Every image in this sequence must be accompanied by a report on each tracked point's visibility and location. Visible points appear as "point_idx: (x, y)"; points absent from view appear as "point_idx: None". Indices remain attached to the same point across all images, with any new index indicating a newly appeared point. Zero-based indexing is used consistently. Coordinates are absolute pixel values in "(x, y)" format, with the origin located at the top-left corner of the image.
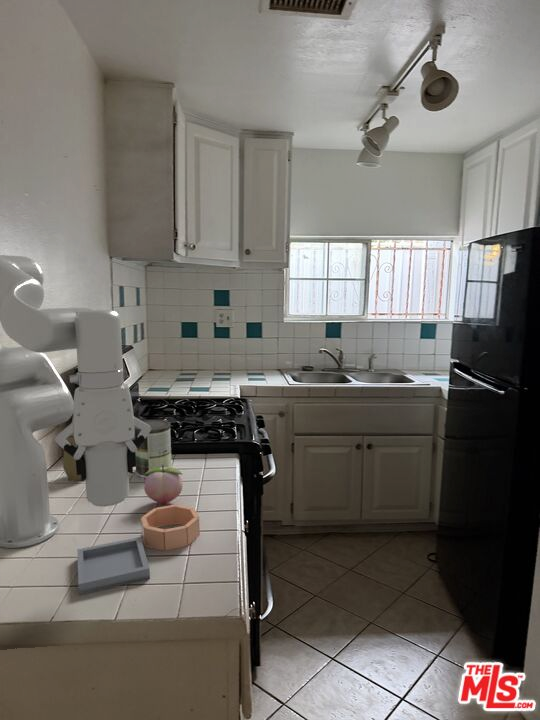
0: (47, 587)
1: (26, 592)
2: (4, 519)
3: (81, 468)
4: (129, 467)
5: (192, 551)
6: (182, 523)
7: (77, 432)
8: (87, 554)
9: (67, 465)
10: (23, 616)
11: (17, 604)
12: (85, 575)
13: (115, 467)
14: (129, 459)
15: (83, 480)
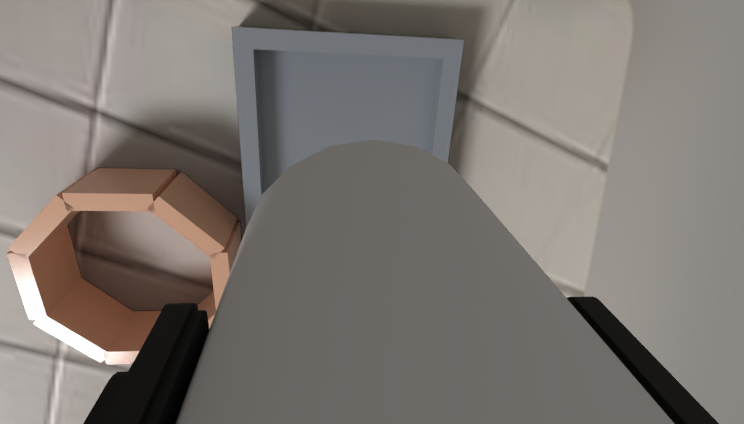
0: (522, 119)
1: (572, 119)
2: None
3: (660, 370)
4: (180, 345)
5: (80, 128)
6: (107, 298)
7: None
8: None
9: None
10: (599, 3)
11: (601, 72)
12: (427, 119)
13: (333, 275)
14: (141, 417)
15: (574, 298)
